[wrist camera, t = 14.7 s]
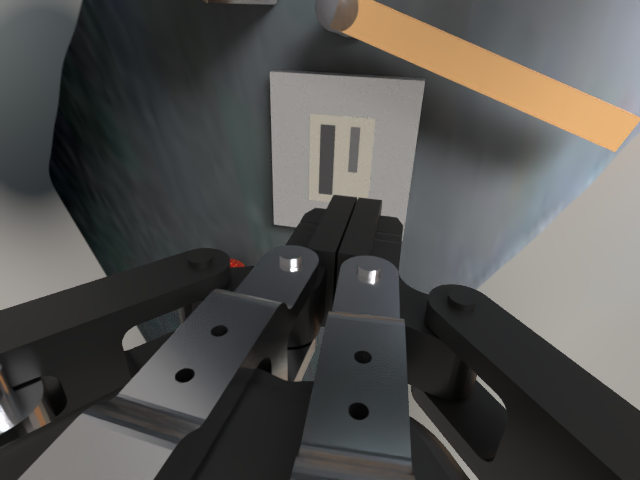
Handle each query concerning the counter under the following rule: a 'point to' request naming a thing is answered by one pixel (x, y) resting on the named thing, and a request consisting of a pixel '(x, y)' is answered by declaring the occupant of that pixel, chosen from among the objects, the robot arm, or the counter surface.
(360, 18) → the swing arm
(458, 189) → the counter surface
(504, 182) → the counter surface
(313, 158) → the plate
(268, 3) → the coffee box
